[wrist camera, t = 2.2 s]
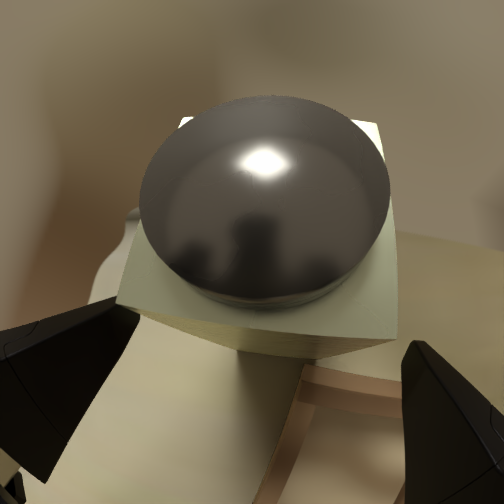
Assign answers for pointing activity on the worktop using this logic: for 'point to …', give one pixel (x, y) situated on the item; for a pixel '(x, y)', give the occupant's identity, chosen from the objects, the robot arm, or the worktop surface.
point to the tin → (268, 231)
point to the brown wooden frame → (339, 443)
